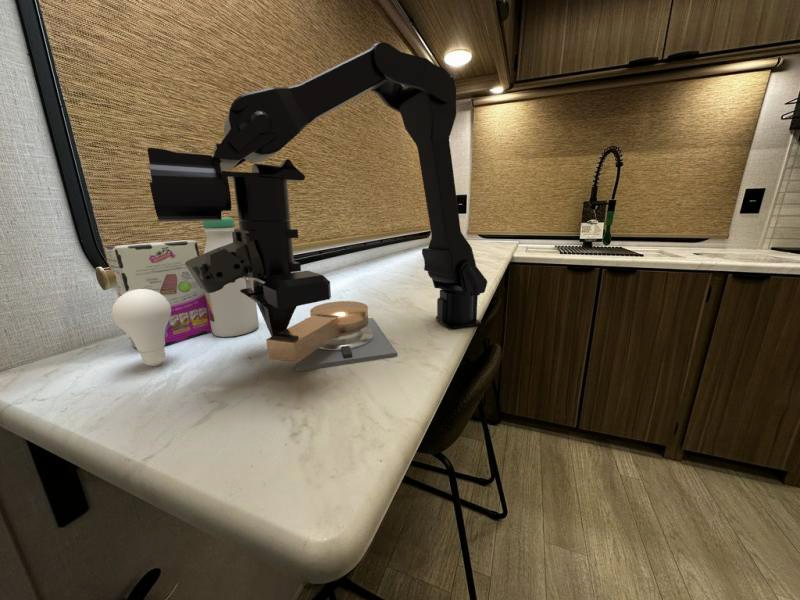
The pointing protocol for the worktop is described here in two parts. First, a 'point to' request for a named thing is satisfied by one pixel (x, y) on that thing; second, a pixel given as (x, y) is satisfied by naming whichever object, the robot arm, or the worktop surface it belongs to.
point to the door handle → (317, 330)
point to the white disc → (349, 340)
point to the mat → (351, 352)
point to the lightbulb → (144, 322)
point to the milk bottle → (228, 290)
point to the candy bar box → (164, 282)
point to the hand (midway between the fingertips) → (277, 341)
